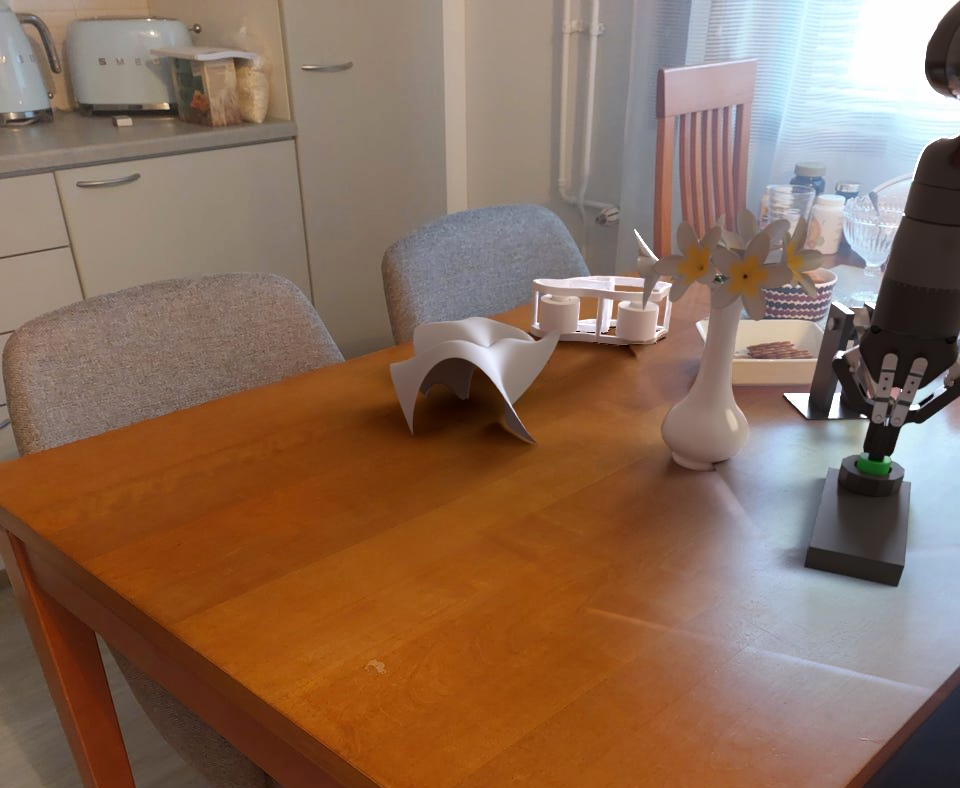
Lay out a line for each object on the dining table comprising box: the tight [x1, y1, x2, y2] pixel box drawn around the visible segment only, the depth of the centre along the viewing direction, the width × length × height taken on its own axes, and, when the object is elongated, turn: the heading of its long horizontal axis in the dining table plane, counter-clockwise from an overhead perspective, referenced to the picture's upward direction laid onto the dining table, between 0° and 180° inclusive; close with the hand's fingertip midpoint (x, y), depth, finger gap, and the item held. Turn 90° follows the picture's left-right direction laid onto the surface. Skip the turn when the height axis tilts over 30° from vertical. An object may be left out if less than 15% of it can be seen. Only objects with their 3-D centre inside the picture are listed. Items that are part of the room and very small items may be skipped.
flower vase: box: [633, 207, 825, 472], centre depth 94 cm, size 13×18×25 cm
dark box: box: [803, 454, 912, 588], centre depth 88 cm, size 19×8×4 cm, turn 157°
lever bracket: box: [782, 302, 876, 421], centre depth 109 cm, size 8×10×13 cm
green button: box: [856, 451, 893, 475], centre depth 91 cm, size 3×3×2 cm
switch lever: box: [847, 306, 896, 420], centre depth 104 cm, size 15×3×3 cm
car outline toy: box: [529, 275, 673, 344], centre depth 133 cm, size 20×11×7 cm, turn 78°
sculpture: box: [389, 316, 560, 446], centre depth 111 cm, size 25×19×10 cm
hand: (875, 457), depth 91 cm, fingers closed
